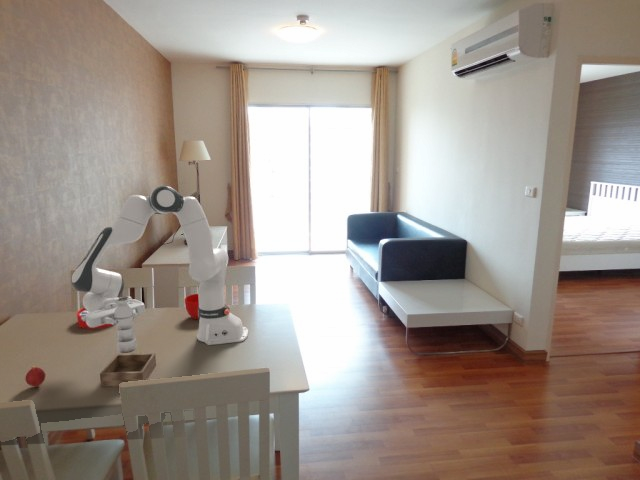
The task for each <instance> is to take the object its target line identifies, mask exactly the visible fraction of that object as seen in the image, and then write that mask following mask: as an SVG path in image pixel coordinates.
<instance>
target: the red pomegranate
mask: <svg viewBox="0 0 640 480" xmlns="http://www.w3.org/2000/svg"><path fill="white" fill-rule="evenodd" d="M45 379H46V372H45V371H44V370H43V369H42V368H41V367H37V366H35V365H32V366H31V368H30V369H29V370H28V372H27V373H26V374H25V379H24V380H25V382H26V384H27V385H28V386H31V387H35V388H39V387H40V385H41V386H42V384H43V383H44V382H45Z"/></svg>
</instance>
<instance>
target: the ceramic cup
mask: <svg viewBox="0 0 640 480" xmlns="http://www.w3.org/2000/svg"><path fill="white" fill-rule="evenodd" d="M184 305H185V310H186V312H187V313H188V315H189V316H190V317H191V318H192V319H193V320H199V317H198V307H199V298H198V293H194V294H190V295H187V296H186V297H185V298H184Z"/></svg>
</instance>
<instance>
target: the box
mask: <svg viewBox="0 0 640 480" xmlns="http://www.w3.org/2000/svg"><path fill="white" fill-rule="evenodd" d="M156 358H157V357H156V353H155V352H154V353H153V352H152V353H119V354H115V355H114V357H112V359H111V360H110V361H109V363H108V364H107V365H106V366H105V367H104V368H103V370H102V371H101V372H100V373H99V378H100V387H101V386H113V387H120V386H119V384H120V383H122V382H128V381H138V380H146V379H147V380H148V379H149V378H150V377H151V374H152V372H153V371H154V369H155V368H156V366H157V360H156Z"/></svg>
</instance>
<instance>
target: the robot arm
mask: <svg viewBox="0 0 640 480" xmlns="http://www.w3.org/2000/svg"><path fill="white" fill-rule="evenodd" d="M171 213H172V214H173V215H175V216H176V218H177V220H178V221H179V224H180V227H181V230H182V232H183V236H184V237H185V240H186V241H185V242H186V244H187V248H188V256H189V258H188V259H189V266H188V273H189V276H190V278H192V280H194V281H196V282H200V283H199V287H198V289H197V294H198V298H199V307H198V317H199V319H198V321H199V322H198V331H197V335H196V339H197V340H198V341H199V342H201V343H205V344H206V345H208V346H212V345H214V346H215V345H223V344H229V343H231V344H232V343H239V342H243V341H245V340H246V339H247V338H248V335H249V329H248V328H247V327H246V326H244V325H243V322H242V320H241V318H239V317H238V316H236V315H234V313H232V312H230V311H231V310H230V305H229V304H228V305H227V304H225V282H226V276H227V267H228V266H227V265H228V262H229V255H228V253H227V252H226V250H224V249H223V248H220V247H216V248H215V247H214V246H213V233H212V229H211V227H210V224H209V221H208V218H207V217H206V214H205V211H204V209H203V207H202V205H201V204H200V201H198V199H197V198H196V197H194V196H189V195H188V196H183V195H182V194H181V193H179V192H178V191H177V190H176V189H175V188H172V187H171V186H169V185H162V186H161V185H160V186H157V187H156V188H155V189H153V191H151V193H150V194H149V195H148V196H145V195H141V194H132V195H130V196H129V197H127V199H126V201H124V204H123V206H122V208H121V209H120V211H119V214H118V216H117V218H116V221H114V223H112V224H111V225H110V226H107V227H105V228H104V229H103V230H102V231H101V232H100V233H99V235H98V236H97V237H96V239H95V240H94V242H93V243H92V245H91V246H90V248H89V250H88V252H87V253H86V255H85V256H84V258H83V260H82V261H81V262H80V264H78V266H77V267H76V269H75V270H74V271H73V273H72V274H71V275H72V276H71V278H70V282H71V284H72V286H73V287H74V289H75V290H76V292H83V293H84V292H85V294H84V296H82V297H83V298H82V304H83V308H84V307H85V309H86V310H87V311H88V312H89V313H86V314H85V315H84V316H83V317H81V319H82V320H83V321H86V324H87V325H88V326H89V327H90V328H94V327H98V326H101V325H104V324H112V326H114V324H115V325H116V324H117V319H115V318H114V311H115V310H116V308H117V307H118V306H117V299H120V298H128V302H129V304H128V306H129V307H131V309H132V310H133V320H134V319H137V318H138V315H142V314H144V313H145V311H146V308H145V307H146V306H145V303H144V302H143V301H140V300H138V299H134V298H132V296H129V295H127V296H122V294H123V292H124V289H125V281H124V277H123V275H122V274H121V273H120V272H115V271H111V270H107V269H103V268H99V267H97V265H98V263H99V261H100V260H101V259H102V257H103V255H104V254H105V251H106V250H107V249H109V248H110V247H111V246H114V245H119V244H121V245H122V244H124V245H125V244H132V243H135V242H137V241H138V240H140V239H142V237H143V235H144V233H145V231H146V228H147V225H148V222H149V220H150V218H151V217H152V215H167V214H171Z"/></svg>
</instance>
